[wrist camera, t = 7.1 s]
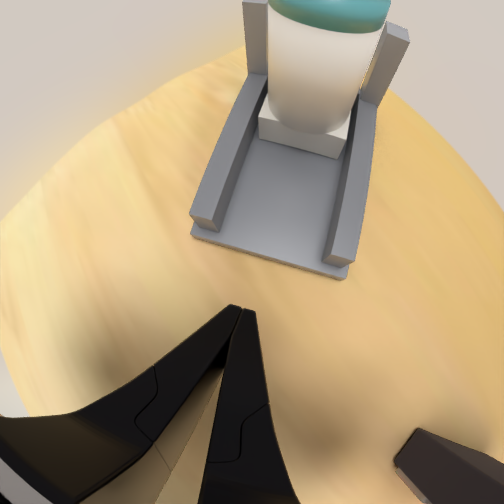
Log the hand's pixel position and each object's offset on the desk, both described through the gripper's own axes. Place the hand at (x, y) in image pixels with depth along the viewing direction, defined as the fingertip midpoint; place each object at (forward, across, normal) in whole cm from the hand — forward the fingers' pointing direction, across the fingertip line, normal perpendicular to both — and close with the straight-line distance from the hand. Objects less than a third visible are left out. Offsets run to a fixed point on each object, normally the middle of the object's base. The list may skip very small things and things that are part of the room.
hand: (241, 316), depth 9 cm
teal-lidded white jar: (+13, 0, -4) cm, 13 cm away
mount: (+11, 0, -1) cm, 11 cm away
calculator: (0, -18, +11) cm, 21 cm away
